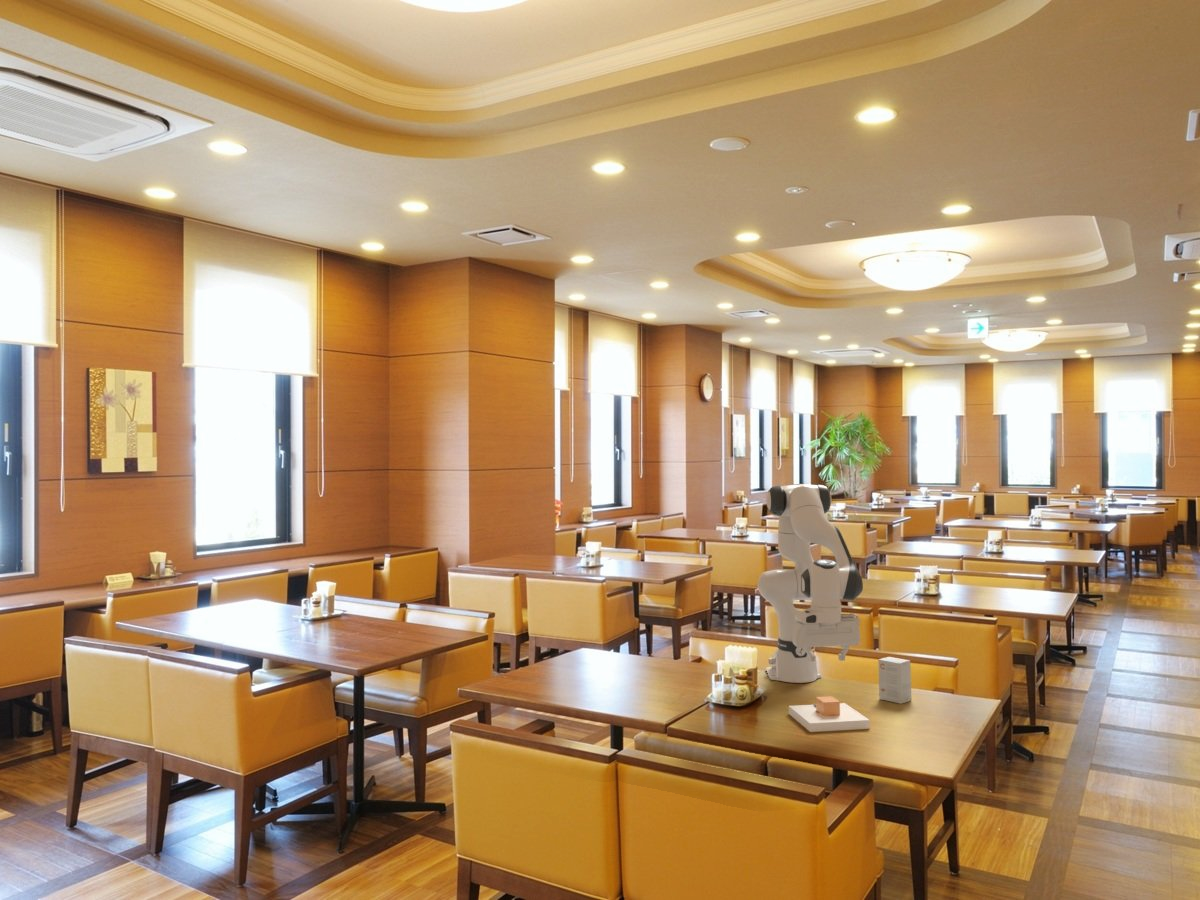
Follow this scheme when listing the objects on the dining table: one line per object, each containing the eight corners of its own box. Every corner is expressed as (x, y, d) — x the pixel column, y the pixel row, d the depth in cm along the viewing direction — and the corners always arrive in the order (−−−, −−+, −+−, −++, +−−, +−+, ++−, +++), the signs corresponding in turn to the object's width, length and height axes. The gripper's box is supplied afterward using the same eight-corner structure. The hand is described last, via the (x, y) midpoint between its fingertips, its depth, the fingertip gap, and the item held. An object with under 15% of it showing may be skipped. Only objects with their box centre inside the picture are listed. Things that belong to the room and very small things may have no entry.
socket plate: (788, 714, 266) (788, 703, 266) (844, 711, 269) (844, 701, 269) (810, 732, 249) (809, 721, 249) (869, 728, 251) (869, 717, 251)
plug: (816, 717, 261) (816, 697, 261) (832, 717, 262) (831, 696, 262) (823, 723, 255) (823, 702, 255) (840, 723, 256) (839, 701, 256)
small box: (911, 700, 279) (911, 660, 279) (901, 704, 275) (900, 663, 275) (889, 695, 285) (888, 656, 286) (878, 699, 281) (877, 659, 281)
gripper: (854, 611, 263) (855, 656, 263) (790, 614, 261) (790, 659, 261) (863, 615, 257) (864, 661, 257) (797, 618, 255) (798, 665, 255)
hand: (826, 660), depth 259 cm, fingers open, 8 cm apart
